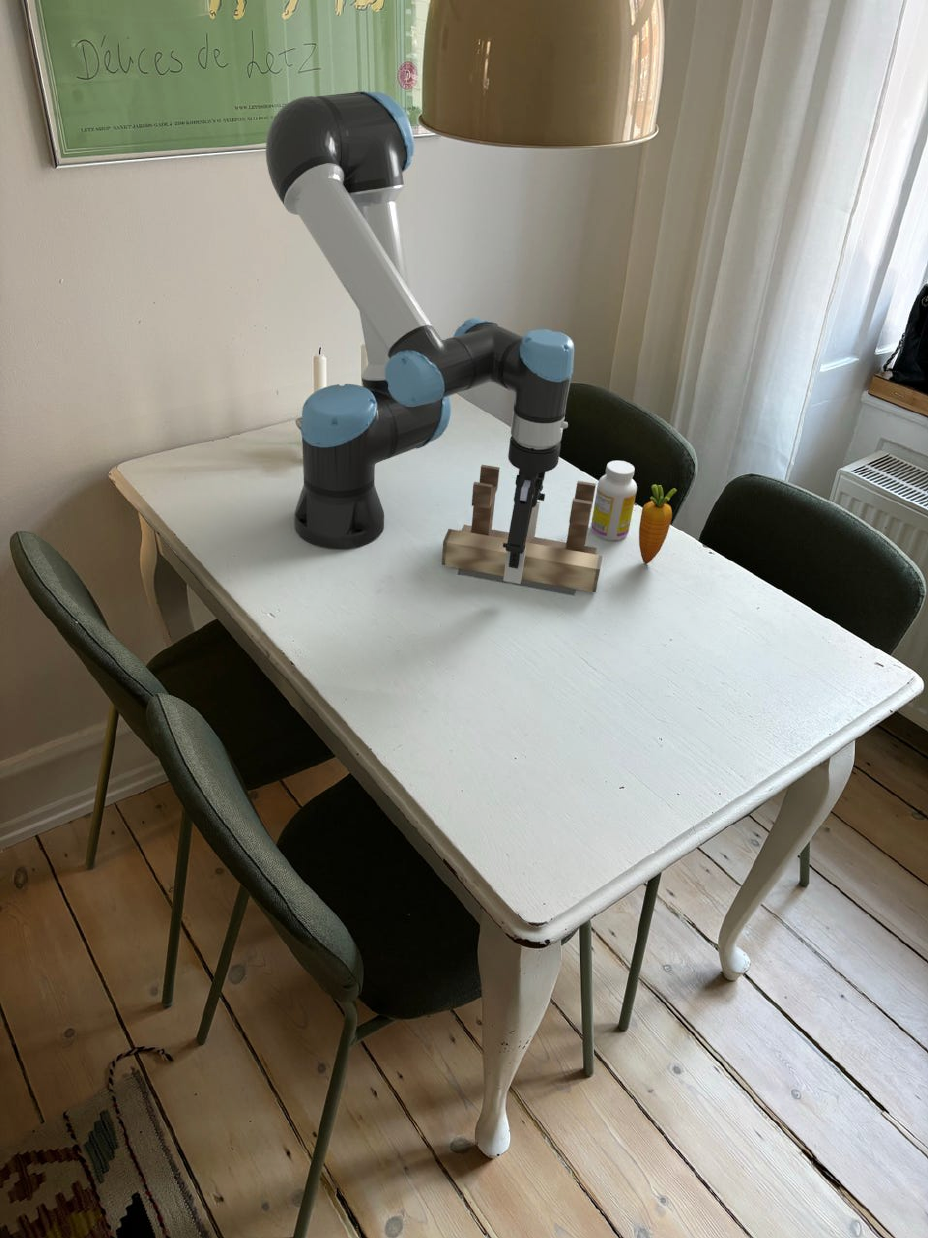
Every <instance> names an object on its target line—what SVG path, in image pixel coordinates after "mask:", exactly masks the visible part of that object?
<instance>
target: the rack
mask: <svg viewBox="0 0 928 1238" xmlns="http://www.w3.org/2000/svg"><path fill="white" fill-rule="evenodd" d="M479 474H480V475H479V482H478V481H474V482H473V484H472V495H471V506H472V519H471V525H468V524H463V525H462V528H461V530H460V531H464V532H470V533H476V534H481V535H487V536H493V537H498V538H504V539H508V536H509V531H502V530H496V529H493V521H494V510H495V500H496V494H497V491H498V487H499V477H500V476H499V475H500V467H498V466H494V465H493V466H492V465H485V464H481V465H480V473H479ZM596 485H597V483H593V482H589V481H583V480H582V481H581V480H577V482H576V488H575V494H574V498H572V502H571V510H570V515H569V521H568V523H569V525H568V530H567V538H566V542H565V541H561V540H560V541H559V540H553V539H548V538H543V537H537V536H535V537H534V538H531V537H526V542H527V543H532V544H538V545H544V546H550V547H555V548H561V549H567V550H572V551H578V552H584V553H589V554H595V555H597V551H598V550H597V549H598V548H597V547H594V546H593V547H592V546H586V541H587V537H588V531H589V524H590V518H591V513H592V509H593V504H594V497H595V494H596V493H595V490H596Z"/></svg>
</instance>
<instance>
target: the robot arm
mask: <svg viewBox="0 0 928 1238" xmlns="http://www.w3.org/2000/svg"><path fill="white" fill-rule="evenodd" d="M414 153H415V139H414V133H413V129H412V126H411V123H410V120H409V118H408V116H407V114H406V112H405V111H404V109H403V107H402V106H401V105H400V104H399V103H397V101H396V100H395V99H394V98H392V97H391V96H390V95H388V94H387V93H383V92H378V91H365V90H362V91H355V92H346V93H338V94H337V93H336V94H328V95H319V96H318V95H317V96H314V95H313V96H312V95H311V96H302V97H298V98H296V99H293V100H291V101H290V102H287V103H286V104H284V106H283V107H282V108H280V109H279V111H278V112H277V113H276V114H275V116H274V118H273V119H272V122H271V123H270V126H269V129H268V132H267V135H266V142H265V159H266V160H265V161H266V166H267V173H268V175H269V177H270V181H271V184H272V186H273V189H274V190H275V193H276V194H277V196H278V197H279V200H280V201H281V202H282V205H284V207H285V209H286V211H288V213H290V214H292V215H296V216H298V217H300V220H301V221H302V222H303V224H304V226H305V227H306V229H307V230H308V232H309V233H310V235H311V237H312V239H313V240H314V241H315V242H316V245H317V246H318V248H319V250H320V251H321V252H322V254H323V255H324V257H325V259H326V261H327V262H328V264H329V265H330V267H331V268H332V270H333V271H334V273H335V275H336V276H337V278H338V279H339V280H340V282H341V284H342V286H343V287H344V288H345V291H346V292H347V293H348V296H349V297H350V298H351V300H352V301H353V303H354V304H355V306H356V308H357V310H358V311H359V316H360V322H361V329H362V332H363V333H362V334H363V339H364V340H363V341H364V344H365V345H364V346H365V351H366V357H367V366H366V367H365V369H364V370H363V372H362V373H361V382H362V385H359V384H353V383H345V384H344V385H343V384H342V385H340V384H338V383H337V384H332V385H328V386H326V387H322V388H320V389H318V390H316V391H315V392H313V393H312V394H311V395H310V396H308V397H307V399H306V400H305V402H304V403H303V406H302V411H301V422H300V433H301V437H302V469H303V470H302V472H303V486H302V489H301V492H300V494H299V497H298V500H297V503H296V506H295V508H294V530H295V531H296V533H297V534H298V535H299V537H301V539H302V540H305V541H306V542H308V543H310V544H313V545H315V546H319V547H321V548H328V549H338V550H339V549H353V548H358V547H361V546H366V545H368V544H369V543H371V542H373V541H375V540H377V539H378V538H379V537H380V536H381V534H383V531H384V528H385V510H384V508H383V505H382V503H381V500H380V497H379V495H378V491H377V488H376V486H375V485H376V484H375V480H376V479H375V473H376V472H375V471H376V464H377V463H381V462H383V461H386V460H388V459H389V460H390V459H391V458H395V457H396V456H399V455H402V454H404V453H407V452H410V451H412V450H416V449H421V448H423V447H425V446H427V445H429V443H431V442H434V441H436V440H437V439H439V438H440V437H441V436H442V435H443V433H444V432H445V431H446V430H447V428H448V426H449V423H450V420H451V416H452V415H451V414H452V404H451V401H452V400H451V398H450V397H451V396H452V395H455V394H458V393H460V392H461V393H462V392H464V391H468V390H470V389H473V388H476V387H479V386H482V385H484V384H488V383H494V384H496V385H498V386H501V387H502V388H505V389H507V390H509V391H512V392H514V393H515V395H514V401H513V402H514V403H513V404H514V405H513V411H512V415H511V427H510V434H511V435H510V438H509V444H508V445H509V447H508V454H507V457H508V461H509V463H510V464H511V465H512V466H513V467H514V468H516V469H517V470H518V474H517V475H516V476H515V477H516V478H515V490H514V495H513V507H512V515H511V520H510V526H509V531H508V532H509V536H508V541H507V543H503V547H504V548H506V551H507V555H506V563H505V571H504V579H503V581H507V582H512V583H518V584H521V579H522V572H523V565H524V558H525V550H526V546H525V542H526V537H531V538H534V537H536V530H537V525H538V515H539V509H540V503H541V502H544V501H545V498H546V494H545V493H542V491H543V489H544V481H545V476H546V473H548V472H550V471H552V470H554V469H555V468H556V467H557V466H558V463H559V458H560V453H561V445H562V443H561V441H562V437H563V430H564V429H567V428H568V427H569V424H568V423H569V422H567V421H565V418H566V417H565V415H566V411H567V409H566V408H567V401H568V397H569V391H570V387H571V381H572V378H573V374H574V369H575V368H574V360H575V359H574V358H575V343H574V341H573V339H572V338H571V337H569V336H568V335H567V334H565V333H562V332H560V331H555V330H553V331H552V330H551V329H545V328H544V329H542V328H540V329H532V330H530V331H527V333H525V334H524V335H523V336H522V335H520V334H517V333H515V332H513V331H511V330H510V329H508V328H507V329H506V328H504V327H502V326H500V325H499V324H498V323H496V322H492V321H491V320H490V321H488V320H485V319H482V318H480V317H479V318H478V317H473V318H469V319H467V320H464V322H463V323H462V325H461V326H458V327H457V328H456V330H455V332H454V334H453V336H452V337H447V338H445V339H442V338H441V337H440V335H439V334H438V332H437V330H436V329H435V328H434V326H433V325H432V324H431V322H430V320H429V319H428V317H427V315H426V314H425V312H424V311H423V309H422V308H421V306H420V305H419V303H418V302H417V300H416V298H415V296H414V295H413V294H412V292H411V289H410V283H409V275H408V274H409V273H408V268H407V262H406V256H405V255H406V253H405V248H404V242H403V241H404V240H403V237H402V230H401V229H402V228H401V223H400V216H399V210H398V203H397V199H398V197H399V195H400V194H401V192H402V191H403V189H404V188H405V184H404V176H403V173H404V172H406V170H407V169H409V166H411V164H412V158H411V157H413V156H414Z"/></svg>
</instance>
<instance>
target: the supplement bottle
mask: <svg viewBox="0 0 928 1238" xmlns="http://www.w3.org/2000/svg"><path fill="white" fill-rule="evenodd" d="M634 475H635V466H634V465H633V464H631V463H630V462H627V461H625V460H611V461H609V462H608V463H607V465H606V467H605V474H604V475H602V476H601V477H600V478H599V480H598V481H597V488H596V493H595V500H594V503H593V504H594V506H593V511H592V518H591V524H590V529H591V531H592V534H594V535H595V536H596V537H598V538H600V539H602V540H605V541H612V542H613V541H614V542H615V541H620V540H623V539H625V538H626V537H627V536H628V535H629V532H630V528H631V527H630V526H631V521H632V516H633V511H634V505H635V502H636V496H637V491H638V486H637V485H638V484H637V482H636V481H635V480H634V479H633V477H634Z"/></svg>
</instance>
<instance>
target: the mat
mask: <svg viewBox="0 0 928 1238" xmlns="http://www.w3.org/2000/svg"><path fill="white" fill-rule="evenodd" d="M457 575H460V576H464V577H465V576H466V577H471V578H474V579H475V578H477V579H481V580H487V581H492V582H497V583H503V584H507V585H508V584H509V585H515V586H520V587H524V588H525V587H526V588H530V589H531V588H532V589H534V590H535V589H536V590H540V591H541V590H542V591H546V592H552V593H557V594H558V593H559V594H563V595H570V596H575V593H576V590H577V589H572V588H566V587H561V586H555V585H550V584H544V583H539V582H533V581H528V580H522V579H521V584H518V583H512V582H507V581H503V579H504V576H500V575H494V574H489V573H483V572H478V571H472V570H467V569H461V568H458V571H457Z"/></svg>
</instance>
